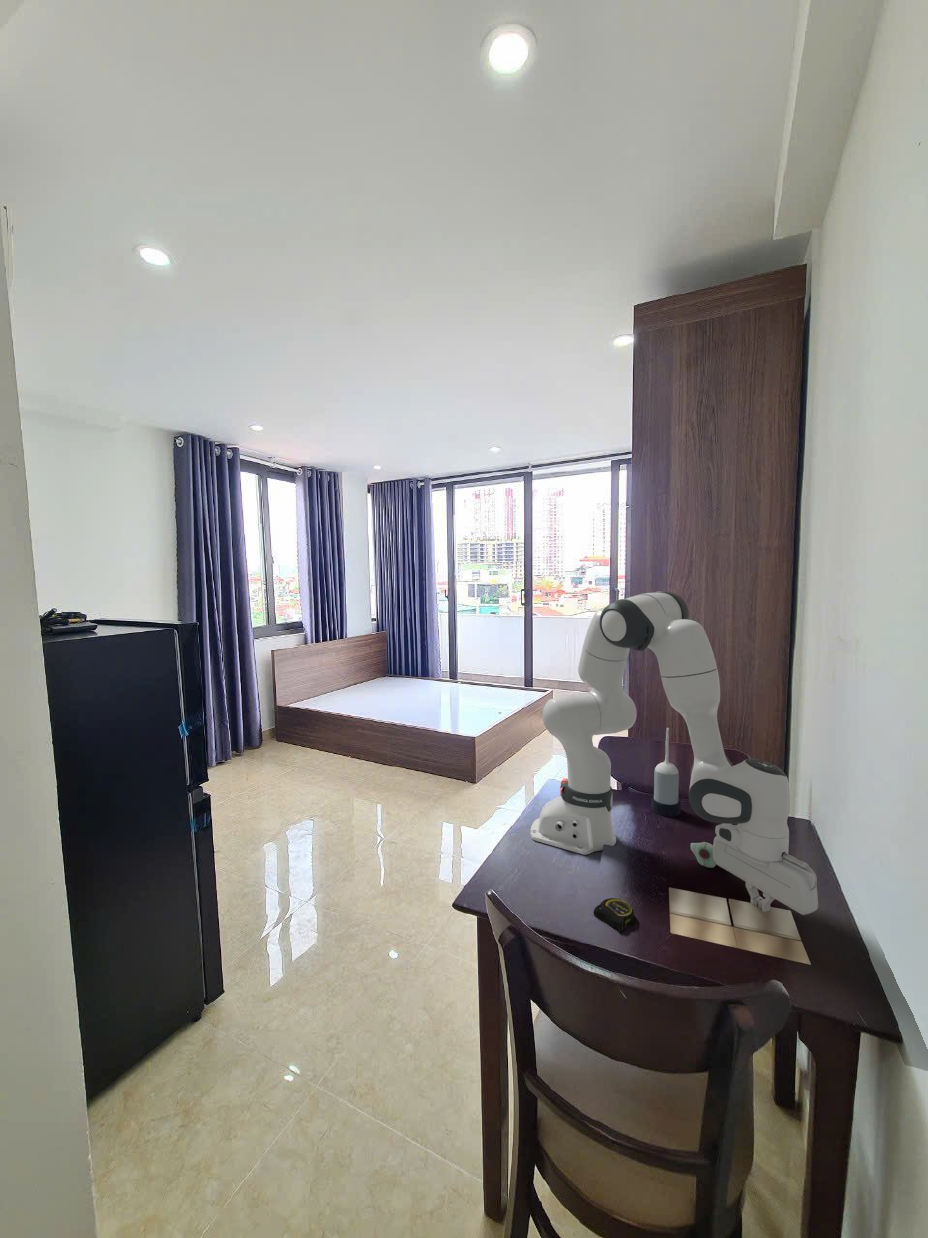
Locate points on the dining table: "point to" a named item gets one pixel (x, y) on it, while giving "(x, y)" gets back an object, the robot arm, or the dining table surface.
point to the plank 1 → (699, 906)
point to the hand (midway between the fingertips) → (760, 908)
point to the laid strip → (739, 938)
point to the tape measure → (615, 913)
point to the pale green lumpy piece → (704, 854)
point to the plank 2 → (763, 919)
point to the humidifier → (666, 787)
